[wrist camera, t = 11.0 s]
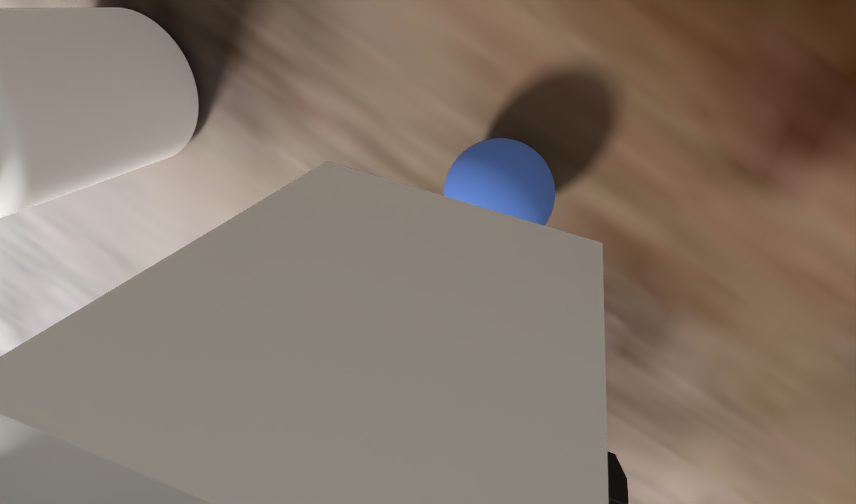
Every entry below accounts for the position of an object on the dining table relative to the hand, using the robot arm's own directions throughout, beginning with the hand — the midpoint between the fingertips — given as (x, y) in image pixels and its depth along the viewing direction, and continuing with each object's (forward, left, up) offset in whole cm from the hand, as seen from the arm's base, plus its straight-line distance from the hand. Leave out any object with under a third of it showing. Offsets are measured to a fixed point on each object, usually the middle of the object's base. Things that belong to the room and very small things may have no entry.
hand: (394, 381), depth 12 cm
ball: (0, 0, -14) cm, 14 cm away
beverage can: (+1, -21, -17) cm, 27 cm away
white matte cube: (0, 0, -3) cm, 3 cm away
